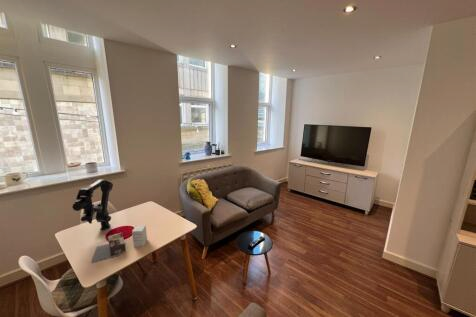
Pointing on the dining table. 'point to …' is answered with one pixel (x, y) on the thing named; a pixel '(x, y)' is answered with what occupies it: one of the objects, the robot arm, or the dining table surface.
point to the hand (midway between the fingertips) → (90, 223)
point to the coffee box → (116, 244)
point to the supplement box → (139, 235)
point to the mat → (102, 253)
